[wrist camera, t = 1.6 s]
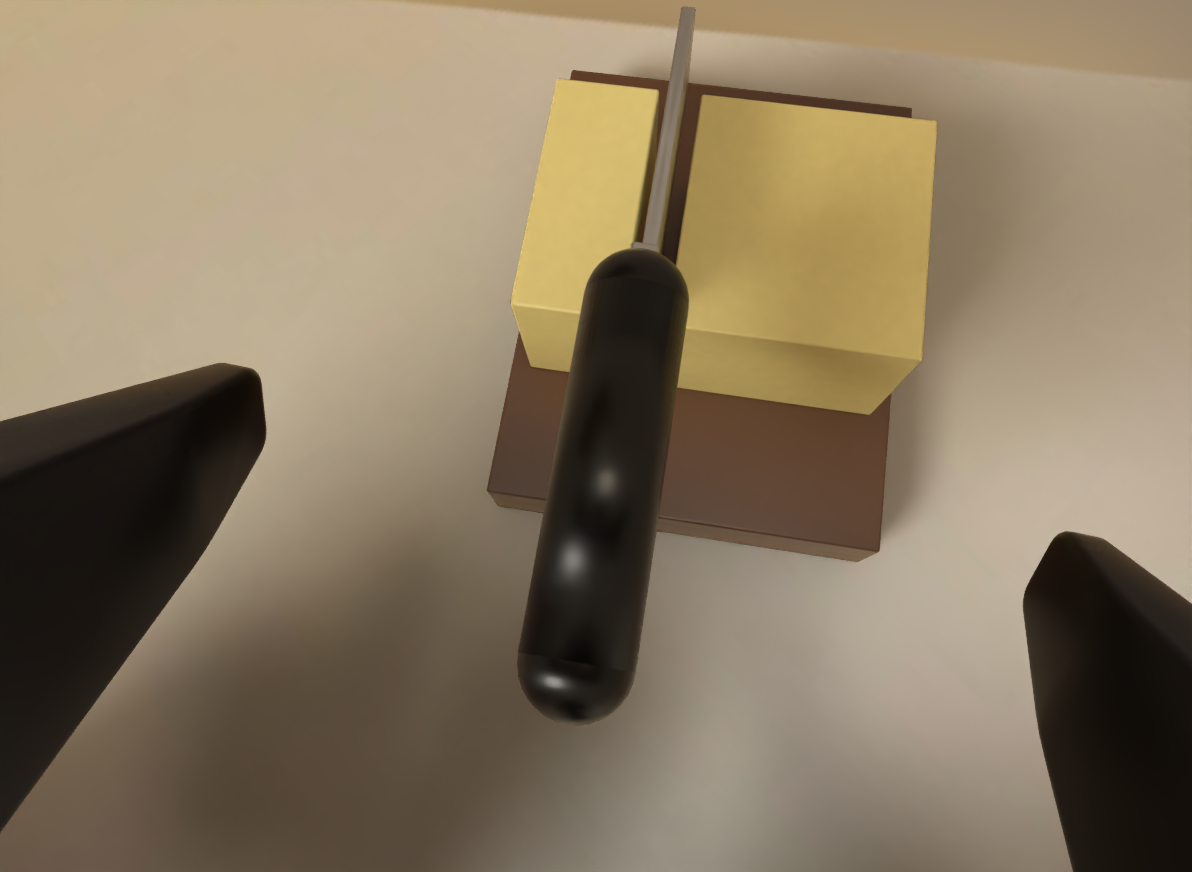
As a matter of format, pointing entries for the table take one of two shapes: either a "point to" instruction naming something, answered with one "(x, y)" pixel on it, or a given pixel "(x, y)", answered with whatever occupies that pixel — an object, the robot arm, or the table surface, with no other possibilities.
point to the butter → (744, 240)
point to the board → (722, 423)
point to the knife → (610, 460)
